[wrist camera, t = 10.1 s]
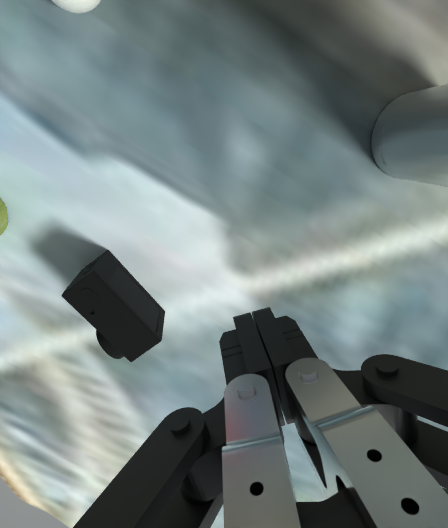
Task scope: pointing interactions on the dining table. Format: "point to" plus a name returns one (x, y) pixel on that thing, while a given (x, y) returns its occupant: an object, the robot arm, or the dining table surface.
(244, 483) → the robot arm
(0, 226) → the plant pot
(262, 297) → the dining table surface
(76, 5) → the cue ball
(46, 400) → the dining table surface
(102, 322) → the digital camera
